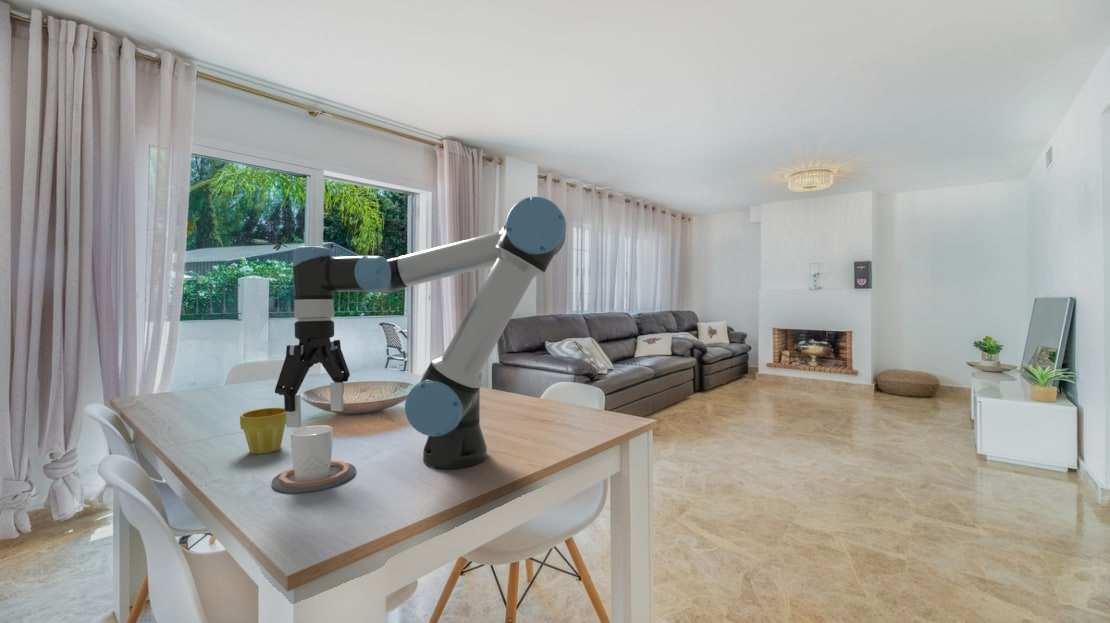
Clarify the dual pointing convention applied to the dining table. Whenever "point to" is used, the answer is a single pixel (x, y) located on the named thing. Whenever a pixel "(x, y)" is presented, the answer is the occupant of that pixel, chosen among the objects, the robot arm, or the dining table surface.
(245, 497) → the dining table surface
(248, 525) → the dining table surface
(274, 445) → the plant pot
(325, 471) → the white cup
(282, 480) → the trivet
